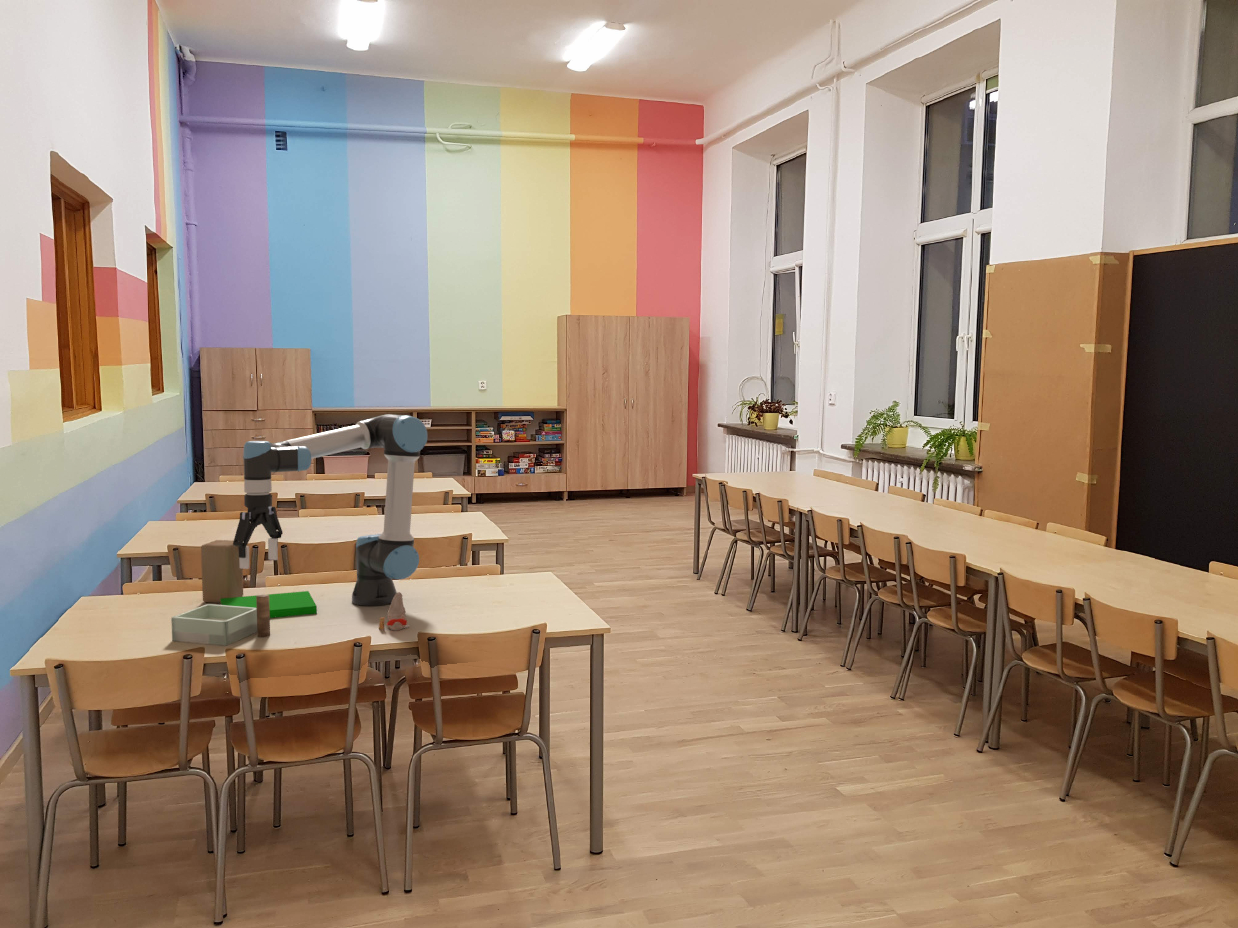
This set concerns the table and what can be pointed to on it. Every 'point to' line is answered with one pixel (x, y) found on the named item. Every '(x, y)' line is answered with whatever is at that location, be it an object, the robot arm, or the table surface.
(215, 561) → the wooden block
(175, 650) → the table surface
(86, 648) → the table surface
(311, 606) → the book
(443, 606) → the table surface
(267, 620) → the peg
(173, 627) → the crate
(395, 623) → the figurine
